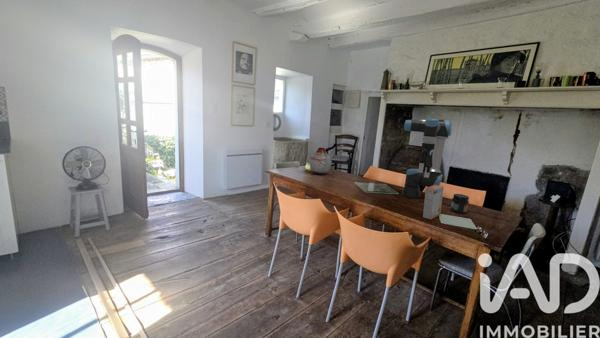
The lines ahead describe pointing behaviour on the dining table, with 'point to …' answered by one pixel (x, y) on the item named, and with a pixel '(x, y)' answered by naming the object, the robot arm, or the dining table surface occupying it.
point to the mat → (457, 221)
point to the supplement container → (459, 203)
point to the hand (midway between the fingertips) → (423, 174)
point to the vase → (320, 162)
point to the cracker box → (433, 202)
